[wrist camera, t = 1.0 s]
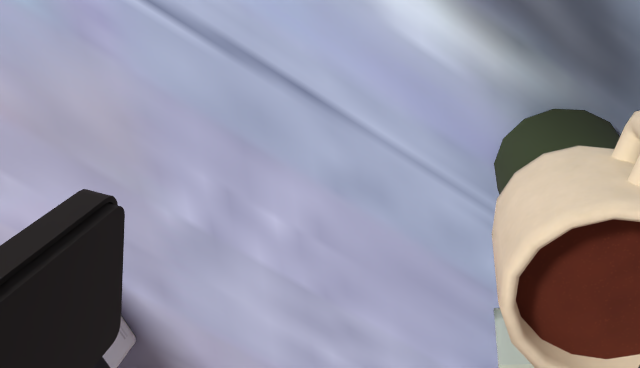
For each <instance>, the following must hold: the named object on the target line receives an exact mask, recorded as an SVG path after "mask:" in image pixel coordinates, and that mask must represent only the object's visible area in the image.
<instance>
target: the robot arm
mask: <svg viewBox="0 0 640 368" xmlns="http://www.w3.org/2000/svg"><path fill="white" fill-rule="evenodd" d="M124 218H125V214H124V209H123V208H122V207H121V206H118V205H117V201H116V199H115V198H114V197H113V196H110V195H106V194H102V193H98V192H94V191H90V190H86V189H83V190H81V191H79V192H77V193H76V194H74V195H73V196H71V197H70V198H69V199H67V200H66V201H64V202H63V203H61V204H60V205H58V206H57V207H56V208H54V209H53V210H51V211H50V212H48V213H47V214H45V215H44V216H43V217H41V218H40V219H38V220H37V221H35V222H34V223H32V224H31V225H30V226H28V227H27V228H25V229H24V230H22V231H21V232H19V233H18V234H17V235H15V236H14V237H12V238H11V239H9V240H8V241H6V242H5V243H4V244H2V245H1V246H0V368H93V367H94V366H95V365H96V363H97V362H98V361H99V360H100V359H101V357H102V356H103V355H104V354H105V353H106V351H107V350H108V349H109V348H110V347H111V345H112V344H113V343H114V341H115V339H116V338H117V335H118V333H119V329H120V324H121V300H122V273H123V246H124ZM638 368H640V365H639V367H638Z"/></svg>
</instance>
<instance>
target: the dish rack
mask: <svg viewBox="0 0 640 368" xmlns="http://www.w3.org/2000/svg"><path fill="white" fill-rule="evenodd" d="M494 317H495V330H496V342H497V354H498V366H499V368H534V366H533V365H532V364H531V363H530V362H529V361H528V360H527V359H526V358H525V357H524V356H523V354H522V353H521V352H520V351H519V350H518V349H517V348H516V347H515V346H514V345H513V344H512V343H511V340H510V337H509V334H508V331H507V328H506V325H505V322H504V319H503V316H502V313H501V310H500V308H495V309H494Z"/></svg>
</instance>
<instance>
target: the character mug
mask: <svg viewBox="0 0 640 368" xmlns="http://www.w3.org/2000/svg"><path fill="white" fill-rule="evenodd" d="M494 166H495V173H496V180H497V187H498V191H499V194H500V195H499V197H498V198H497V202H496V209H495V216H494V223H493V230H492V241H493V252H494V262H495V273H496V283H497V294H498V302H499V306H500V310H501V313H502V316H503V319H504V322H505V325H506V328H507V331H508V334H509V337H510V340H511V343H512V344H513V345H514V346H515V347H516V348H517V349H518V350H519V351H520V352H521V353H522V354H523V356H524V357H525V358H526V359H527V360H528V361H529V362H530V363H531V364H532V365H533V366H534V368H638V367H639V365H640V111H635V112H634V113H633V115H632V116H631V118H630V119H629V121H628V122H627V124H626V125H625V127H624V129H623V132H622V134H621V136H620V137H619V135H618V134H617V132H616V131H615V129H614V128H613V126H612V125H611V123H610V122H608V121H606V120H604V119H602V118H600V117H597V116H595V115H593V114H591V113H589V112H587V111H585V110H566V109H552V110H549V111H546V112H543V113H540V114H538V115H535V116H532V117H529V118H526V119H524V120H523V121H522V122H521V123H520V124H519V125H517V126H516V127H515V128H514V129H513V130H512V131H511V132H510V133H509V134H508V135H507V136H506V137H504V138H503V141H502V143H501V146H500V149H499V152H498V154H497V157H496V160H495V163H494Z"/></svg>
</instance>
